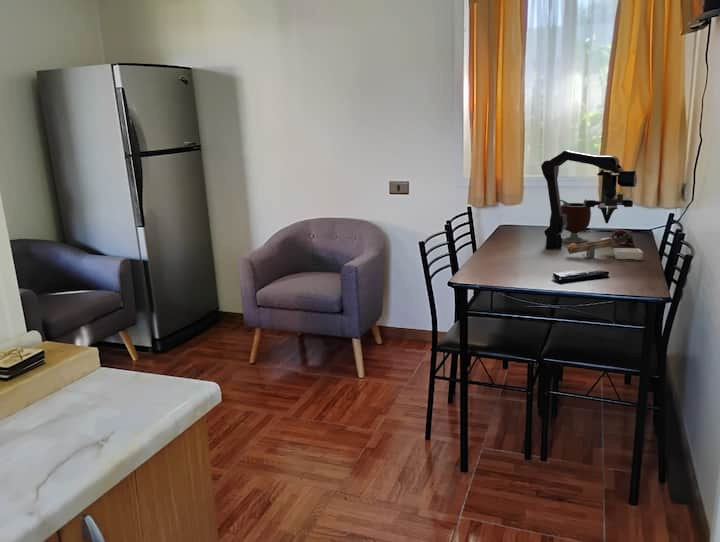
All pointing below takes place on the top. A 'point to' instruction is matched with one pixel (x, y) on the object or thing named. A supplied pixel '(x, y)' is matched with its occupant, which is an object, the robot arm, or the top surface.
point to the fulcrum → (590, 254)
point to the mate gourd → (576, 220)
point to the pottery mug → (622, 237)
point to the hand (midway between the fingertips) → (606, 223)
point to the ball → (572, 245)
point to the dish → (627, 253)
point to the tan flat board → (592, 245)
